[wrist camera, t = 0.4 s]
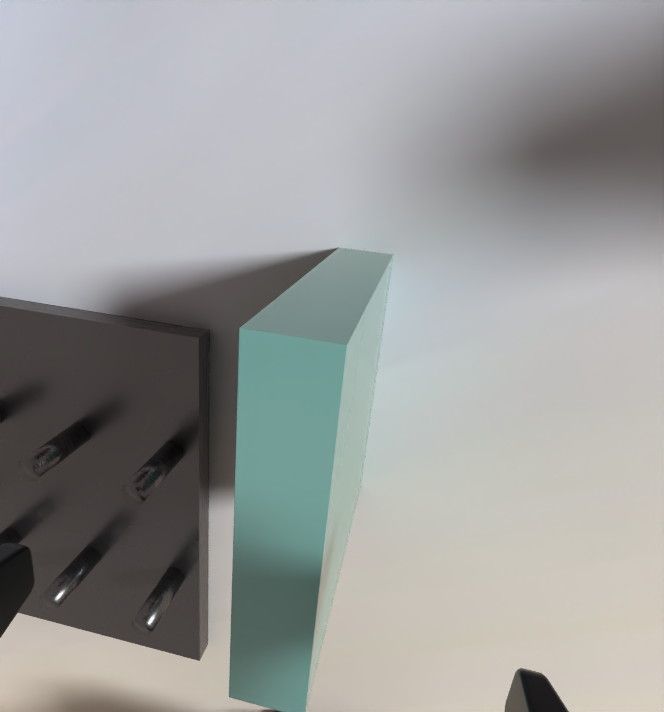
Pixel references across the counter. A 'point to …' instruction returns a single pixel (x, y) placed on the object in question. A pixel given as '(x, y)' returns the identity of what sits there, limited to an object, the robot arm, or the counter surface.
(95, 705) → the counter surface
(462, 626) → the counter surface
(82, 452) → the dish rack
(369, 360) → the teal plate
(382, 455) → the counter surface
